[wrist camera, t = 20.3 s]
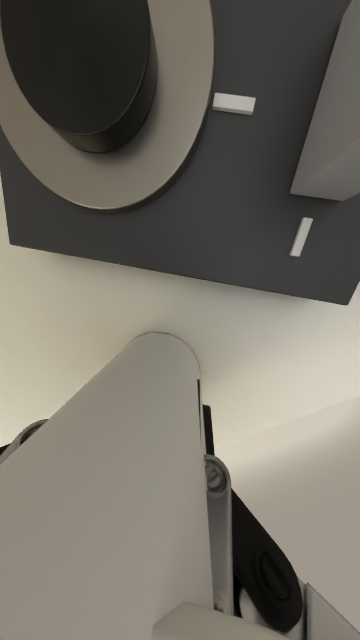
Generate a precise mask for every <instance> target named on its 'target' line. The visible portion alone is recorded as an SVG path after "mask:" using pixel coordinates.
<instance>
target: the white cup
mask: <svg viewBox="0 0 360 640" xmlns="http://www.w3.org/2000/svg"><path fill="white" fill-rule="evenodd" d="M197 379H200V369H199V364H198V362H197V359H196V356H195V353H194V352H193V351H192V350H191V349H190V348H189V347H188V346H187V345H186V344H185V343H184V341H182V340H180V339H178V338H176V337H173V336H171V335H169V334H163V333H148V334H145V335H142V336H139V337H136V338H135V339H134V340H133V341H132V342H131V343H129V344H128V345H127V346H126V347H125V348H124V349H123V350H122V351H121V352H120V353H119V354H118V355H117V356H116V357H115V358H113V359H112V360H111V361H110V362H109V363H108V364H107V365H106V366H105V367H104V368H103V369H102V370H101V371H100V372H99V373H98V374H96V375H95V376H94V377H93V378H92V379H91V380H90V381H89V382H88V383H87V384H86V385H85V386H84V387H83V388H82V389H80V390H79V391H78V392H77V393H76V394H75V395H74V396H73V397H72V398H71V399H70V400H69V401H68V402H67V403H66V404H65V405H63V406H62V407H61V408H60V409H59V410H58V411H57V412H56V413H55V414H54V415H53V416H52V417H51V418H50V419H49V420H47V421H46V422H45V423H44V424H43V425H42V426H41V427H40V428H39V429H38V430H37V431H36V432H35V433H34V434H33V435H32V436H30V437H29V438H28V439H27V440H26V441H25V442H24V443H23V444H22V445H21V446H20V447H19V448H18V449H17V450H16V451H14V452H13V453H12V454H11V455H10V456H9V457H8V458H7V459H6V460H5V461H4V462H3V463H2V464H1V465H0V640H151V635H152V626H153V625H154V624H155V623H156V622H158V621H159V620H160V619H161V618H162V617H163V616H164V615H165V614H167V613H168V612H169V611H171V610H172V609H173V608H175V607H176V606H177V605H179V604H180V603H182V602H183V601H186V602H189V603H193V604H196V605H199V606H203V607H206V608H209V609H212V610H213V606H214V605H213V585H212V570H211V555H210V541H209V526H208V512H207V497H206V490H208V488H207V478H206V475H205V466H206V462H205V460H204V455H206V444H205V432H204V419H203V407H202V394H201V382H200V419H201V439H200V422H199V404H198V387H197Z"/></svg>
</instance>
